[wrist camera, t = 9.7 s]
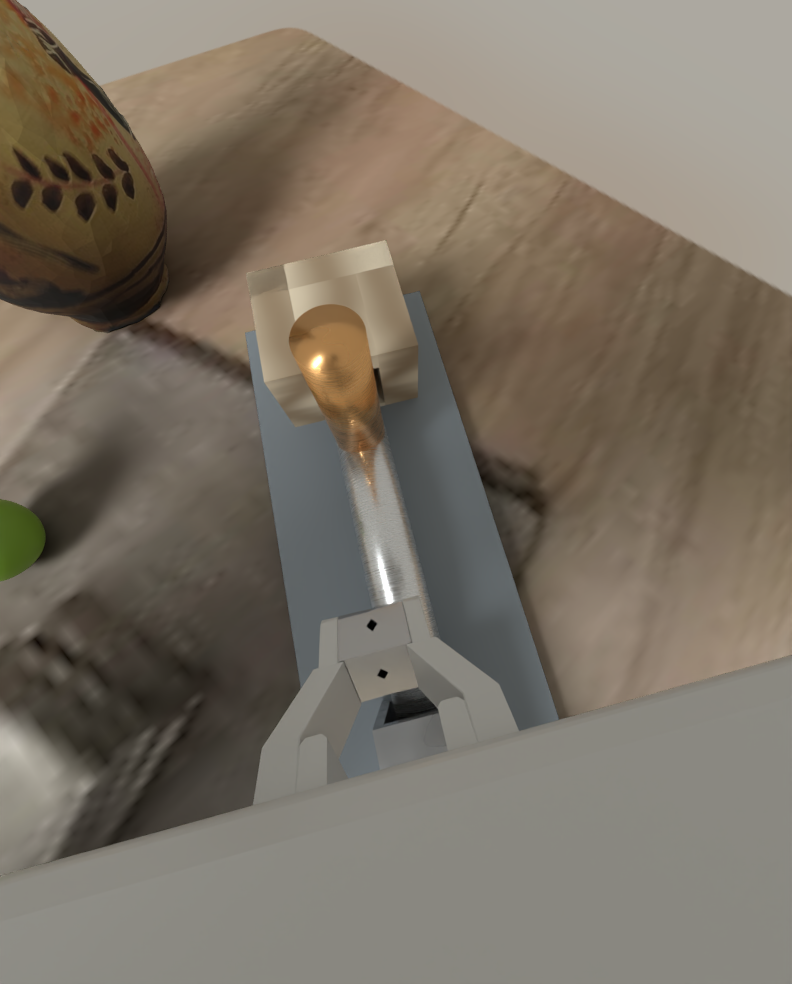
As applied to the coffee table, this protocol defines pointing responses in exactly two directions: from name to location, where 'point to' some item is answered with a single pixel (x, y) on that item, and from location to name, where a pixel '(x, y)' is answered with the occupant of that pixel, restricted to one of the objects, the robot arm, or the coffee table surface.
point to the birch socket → (342, 281)
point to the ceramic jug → (72, 189)
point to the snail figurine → (18, 539)
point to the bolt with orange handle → (364, 463)
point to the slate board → (436, 529)
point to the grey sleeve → (406, 736)
